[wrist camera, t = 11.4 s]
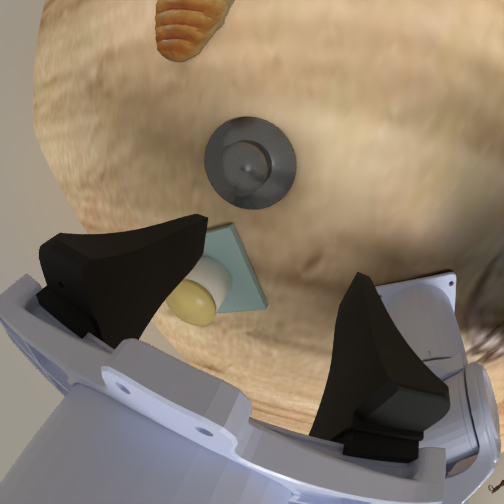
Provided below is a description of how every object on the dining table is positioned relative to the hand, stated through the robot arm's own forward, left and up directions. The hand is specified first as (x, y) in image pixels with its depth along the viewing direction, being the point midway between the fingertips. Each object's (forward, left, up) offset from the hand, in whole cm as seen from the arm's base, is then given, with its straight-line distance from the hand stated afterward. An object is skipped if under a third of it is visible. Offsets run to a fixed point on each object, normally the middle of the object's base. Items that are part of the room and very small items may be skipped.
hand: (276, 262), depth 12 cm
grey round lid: (+4, +4, -10) cm, 12 cm away
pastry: (+18, +2, -11) cm, 21 cm away
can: (-5, +12, -10) cm, 16 cm away
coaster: (-5, +12, -10) cm, 17 cm away
